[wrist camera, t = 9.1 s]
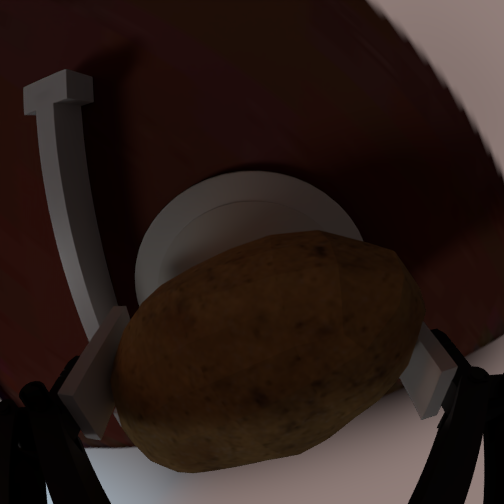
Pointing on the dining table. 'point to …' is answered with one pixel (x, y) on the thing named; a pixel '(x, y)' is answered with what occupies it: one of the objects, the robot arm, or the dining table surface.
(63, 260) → the rail
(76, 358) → the robot arm
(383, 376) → the potato
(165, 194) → the dining table surface
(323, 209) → the plate
